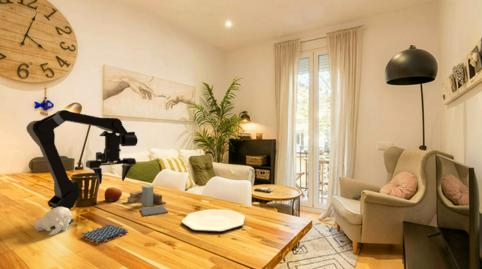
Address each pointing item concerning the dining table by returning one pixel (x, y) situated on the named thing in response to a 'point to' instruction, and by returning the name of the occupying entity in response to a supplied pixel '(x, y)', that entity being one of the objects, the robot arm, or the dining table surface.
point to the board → (147, 196)
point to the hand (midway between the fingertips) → (111, 182)
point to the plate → (213, 220)
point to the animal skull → (54, 220)
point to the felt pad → (153, 211)
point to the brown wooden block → (158, 199)
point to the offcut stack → (135, 197)
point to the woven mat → (104, 234)
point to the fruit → (112, 194)
